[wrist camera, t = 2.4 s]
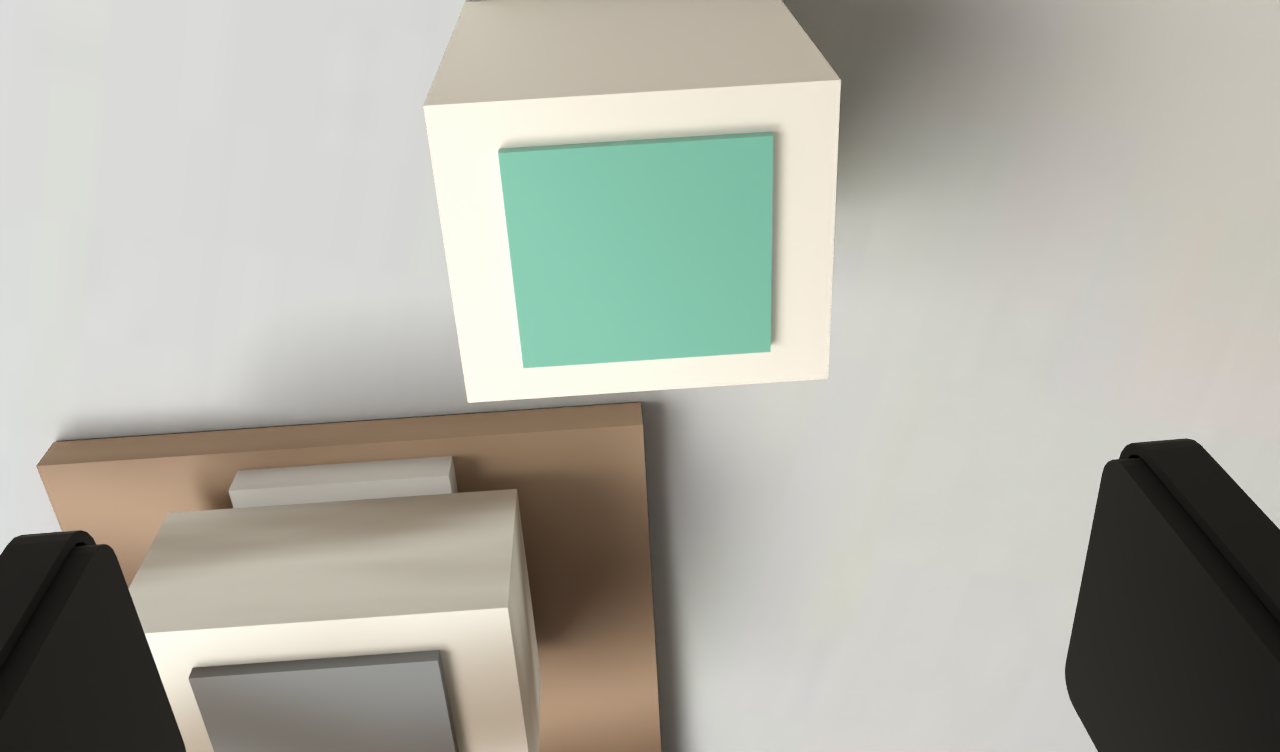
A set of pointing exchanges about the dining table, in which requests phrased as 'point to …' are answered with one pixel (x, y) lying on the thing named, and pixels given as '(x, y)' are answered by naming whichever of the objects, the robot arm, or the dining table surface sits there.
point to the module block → (635, 195)
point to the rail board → (493, 457)
